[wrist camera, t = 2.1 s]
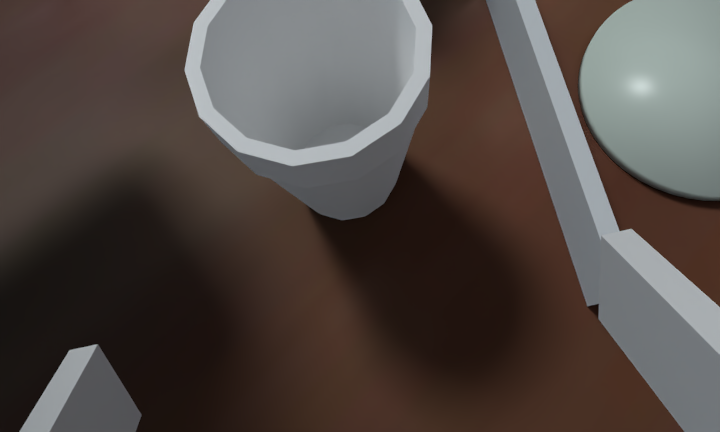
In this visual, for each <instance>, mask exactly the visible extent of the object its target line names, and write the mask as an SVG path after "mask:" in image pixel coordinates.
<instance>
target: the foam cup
mask: <svg viewBox="0 0 720 432" xmlns="http://www.w3.org/2000/svg"><path fill="white" fill-rule="evenodd" d="M431 42H432V24H431V22H430V20H429V18H428V16H427V14H426V12H425V10H424V8H423V6H422V5H421V3H420V1H419V0H210V1H209V3H208V4H207V5H206V7H205V8H204V10H203V11H202V12H201V14H200V15H199V16H198V18H197V19H196V20H195V22H194V24H193V29H192V34H191V40H190V45H189V50H188V55H187V60H186V65H185V74H186V77H187V80H188V83H189V86H190V89H191V92H192V95H193V99H194V102H195V105H196V108H197V111H198V114H199V117H200V118H201V119H202V120H203V122H204V123H205V124H206V125H207V126H208V127H209V128H210V130H211V131H212V132H213V133H214V134H215V135H216V137H217V138H218V139H219V140H220V141H221V142H222V143H223V144H224V145H225V146H226V147H227V148H228V149H229V150H230V151H231V152H232V153H233V154H235V155H236V156H237V157H238V158H239V159H240V160H241V161H242V162H243V163H244V164H245V165H247V166H248V167H249V168H250V169H251V170H252V171H253V172H254V173H255V174H256V175H260V176H263V177H267V178H270V179H272V180H273V181H274V182H276V183H277V184H278V185H280V186H281V187H283V188H284V189H285V190H287V191H288V192H290V193H291V194H292V195H294V196H295V197H297V198H298V199H299V200H301V201H302V202H303V203H305V204H306V205H308V206H309V207H310V208H312V209H313V210H315V211H316V212H317V213H319V214H321V215H325V216H328V217H332V218H335V219H339V220H348V219H354V218H360V217H365V216H367V215H368V214H370V213H371V212H373V211H374V210H375V209H377V208H378V207H380V206H381V205H383V204H384V203H385V201H386V199H387V198H388V196H389V194H390V193H391V191H392V189H393V188H394V186H395V183H396V182H397V179H398V176H399V173H400V170H401V167H402V164H403V161H404V159H405V156H406V153H407V150H408V147H409V144H410V141H411V138H412V135H413V132H414V129H415V127H416V125H417V124H418V122H419V120H420V119H421V117H422V115H423V113H424V112H425V110H426V108H427V104H428V92H429V81H430V63H431Z"/></svg>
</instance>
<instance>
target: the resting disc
mask: <svg viewBox="0 0 720 432" xmlns="http://www.w3.org/2000/svg"><path fill="white" fill-rule="evenodd" d="M578 96H579V102H580V107H581V111H582V114H583V117H584V119H585V122H586V124H587V126H588V128H589V130H590V132H591V134H592V136H593V137H594V139H595V140H596V141H597V143H598V144H599V146H600V147H601V148H602V150H603V151H604V152H605V153H606V154H607V155H608V156H609V157H610V158H611V159H612V160H613V161H614V162H615V163H616V164H617V165H618V166H620V167H621V168H622V169H623V170H624V171H626V172H627V173H629V174H630V175H632V176H633V177H635V178H636V179H638V180H639V181H641V182H643V183H645V184H647V185H649V186H651V187H653V188H655V189H658V190H661V191H663V192H666V193H669V194H672V195H676V196H680V197H683V198H688V199H695V200H703V201H720V0H633V1H631V2H629V3H627V4H626V5H624V6H623V7H621V8H620V9H618V10H617V11H615V12H614V13H613V14H612V15H611V16H610V17H609V18H608V19H607V20H606V21H605V22H604V23H603V24H602V25H601V27H600V28H599V29H598V30H597V32H596V34H595V35H594V37H593V39H592V40H591V42H590V44H589V45H588V47H587V49H586V51H585V54H584V56H583V58H582V61H581V65H580V69H579V76H578Z"/></svg>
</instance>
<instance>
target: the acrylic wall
mask: <svg viewBox="0 0 720 432" xmlns="http://www.w3.org/2000/svg"><path fill="white" fill-rule="evenodd" d="M486 2H487V5H488V8H489V11H490V14H491V17H492V20H493V23H494V26H495V29H496V32H497V35H498V38H499V41H500V44H501V48H502V51H503V54H504V57H505V60H506V63H507V66H508V69H509V72H510V75H511V78H512V81H513V84H514V87H515V90H516V93H517V96H518V99H519V102H520V105H521V108H522V111H523V114H524V117H525V120H526V123H527V126H528V129H529V132H530V135H531V138H532V141H533V144H534V147H535V150H536V153H537V156H538V159H539V162H540V165H541V168H542V171H543V174H544V177H545V180H546V183H547V186H548V189H549V192H550V195H551V198H552V201H553V204H554V207H555V210H556V213H557V216H558V219H559V222H560V225H561V228H562V231H563V234H564V237H565V240H566V243H567V246H568V249H569V252H570V255H571V258H572V261H573V264H574V267H575V270H576V273H577V277H578V280H579V283H580V286H581V289H582V292H583V295H584V298H585V301H586V304H587V306H592V305H596V304H599V286H600V255H601V235H605V234H610V233H615V232H619V229H618V226H617V223H616V220H615V218H614V215H613V212H612V209H611V207H610V204H609V201H608V198H607V196H606V193H605V190H604V188H603V185H602V182H601V179H600V177H599V174H598V171H597V168H596V166H595V163H594V160H593V158H592V155H591V152H590V149H589V147H588V144H587V141H586V138H585V136H584V133H583V130H582V127H581V125H580V122H579V119H578V117H577V114H576V111H575V108H574V106H573V103H572V100H571V97H570V95H569V92H568V89H567V86H566V84H565V81H564V78H563V76H562V73H561V70H560V67H559V65H558V62H557V59H556V56H555V54H554V51H553V48H552V46H551V43H550V40H549V37H548V35H547V32H546V29H545V26H544V24H543V21H542V18H541V15H540V13H539V10H538V7H537V5H536V2H535V0H486Z"/></svg>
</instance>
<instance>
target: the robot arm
mask: <svg viewBox="0 0 720 432" xmlns="http://www.w3.org/2000/svg"><path fill="white" fill-rule="evenodd" d="M598 319H599V320H600V321H601V323H602V324H603V325H604V327H605V328H606V329H607V331H608V332H609V333H610V335H611V336H612V337H613V339H614V340H615V341H616V342H617V344H618V345H619V346H620V348H621V349H622V350H623V352H624V353H625V354H626V356H627V357H628V358H629V360H630V361H631V362H632V363H633V365H634V366H635V367H636V369H637V370H638V371H639V373H640V374H641V375H642V377H643V378H644V379H645V381H646V382H647V383H648V384H649V386H650V387H651V388H652V390H653V391H654V392H655V394H656V395H657V396H658V398H659V399H660V400H661V402H662V403H663V404H664V405H665V407H666V408H667V409H668V411H669V412H670V413H671V415H672V416H673V417H674V419H675V420H676V421H677V423H678V424H679V425H680V427H681V428H682V429H683V430H684V432H720V307H719V306H718V305H717V304H715V303H714V302H713V301H712V300H711V299H710V298H709V297H708V296H706V295H705V294H704V293H703V292H702V291H701V290H700V289H699V288H697V287H696V286H695V285H694V284H693V283H692V282H691V281H690V280H688V279H687V278H686V277H685V276H684V275H683V274H682V273H681V272H679V271H678V270H677V269H676V268H675V267H674V266H673V265H672V264H670V263H669V262H668V261H667V260H666V259H665V258H664V257H663V256H661V255H660V254H659V253H658V252H657V251H656V250H655V249H654V248H652V247H651V246H650V245H649V244H648V243H647V242H646V241H645V240H643V239H642V238H641V237H640V236H639V235H638V234H637V233H636V232H634V231H633V230H632V229H628V230H624V231H619V232H615V233H610V234H605V235H601V255H600V286H599V316H598ZM141 416H142V415H141V413H140V411H139V410H138V408H137V407H136V405H135V403H134V402H133V400H132V398H131V397H130V395H129V394H128V392H127V390H126V389H125V387H124V386H123V384H122V382H121V381H120V379H119V377H118V376H117V374H116V373H115V371H114V369H113V368H112V366H111V365H110V363H109V361H108V360H107V358H106V356H105V355H104V353H103V352H102V350H101V348H100V347H99V345H98V344H96V345H91V346H87V347H82V348H77V349H73V350H69V352H68V353H67V355H66V357H65V358H64V360H63V361H62V363H61V365H60V366H59V368H58V370H57V371H56V373H55V374H54V376H53V378H52V379H51V381H50V383H49V384H48V386H47V388H46V389H45V391H44V392H43V394H42V396H41V397H40V399H39V401H38V402H37V404H36V405H35V407H34V409H33V410H32V412H31V414H30V415H29V417H28V418H27V420H26V422H25V423H24V425H23V427H22V428H21V430H20V431H19V432H136V429H137V426H138V424H139V421H140V418H141Z"/></svg>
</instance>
